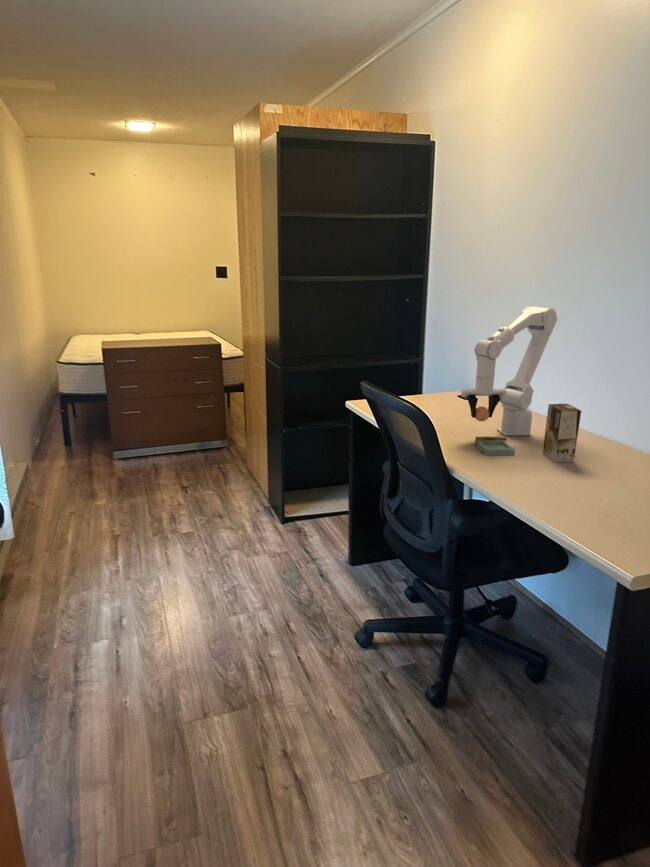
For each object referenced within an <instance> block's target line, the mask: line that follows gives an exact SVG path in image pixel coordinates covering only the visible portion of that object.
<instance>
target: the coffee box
mask: <svg viewBox="0 0 650 867" xmlns="http://www.w3.org/2000/svg"><path fill="white" fill-rule="evenodd" d="M547 406H548V407H547V415H546V423H545V430H544V431H545V432H544V439H543V448H542V454H543V455H545V456H546V457H548V458H549V459H551V460H552V461H553V462H555V463H558V462H559V463H560V462H562V463H565V462H566V463H567V462H568V463H573V462H574V461H575V457H576V456H575V455H576V449H577V441H578V435H579V428H580V424H581V423H580V420H581V414H582V410H581V409H579V408H577V407H575V406H574V405H571V404H569V403H552V404H551V403H548V405H547Z"/></svg>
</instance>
